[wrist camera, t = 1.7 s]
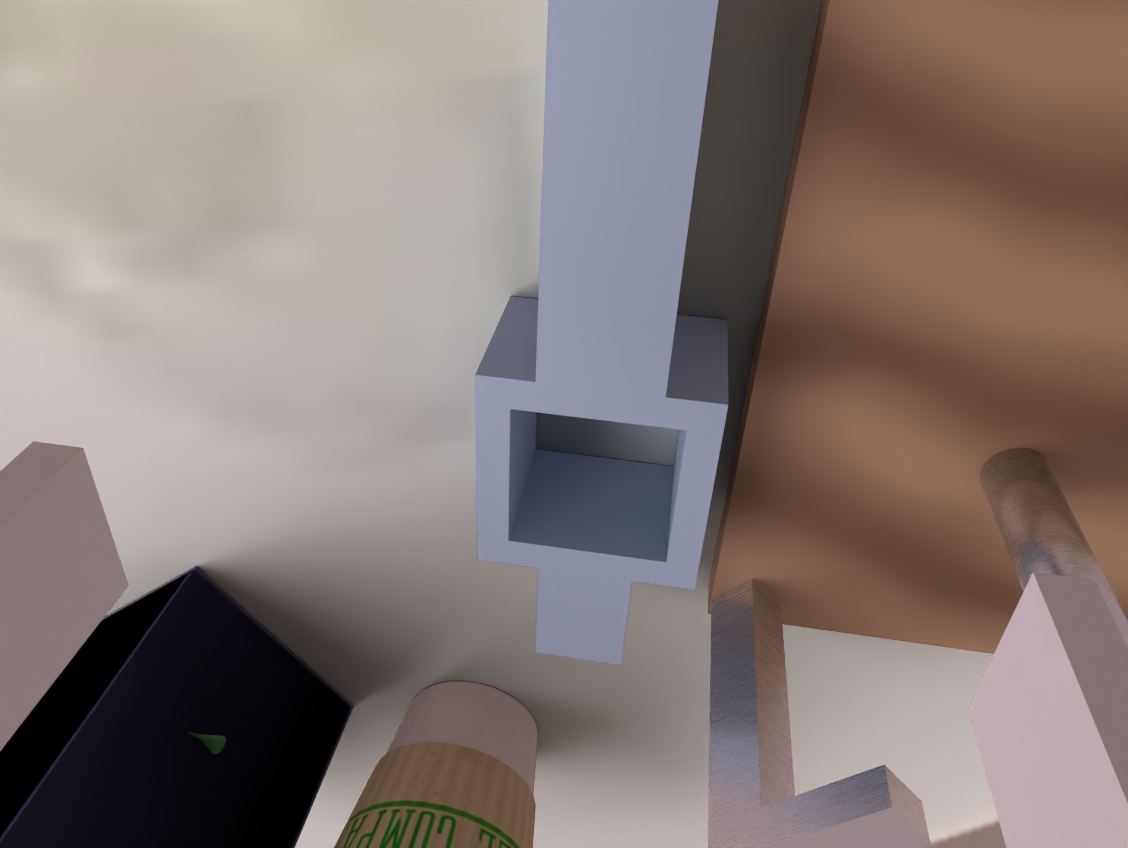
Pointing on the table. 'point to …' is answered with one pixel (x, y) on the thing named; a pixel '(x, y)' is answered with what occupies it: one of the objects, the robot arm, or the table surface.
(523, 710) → the coffee cup
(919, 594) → the board
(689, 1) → the link
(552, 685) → the table surface
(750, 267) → the table surface
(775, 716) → the bracket
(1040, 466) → the pintle
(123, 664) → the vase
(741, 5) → the table surface
